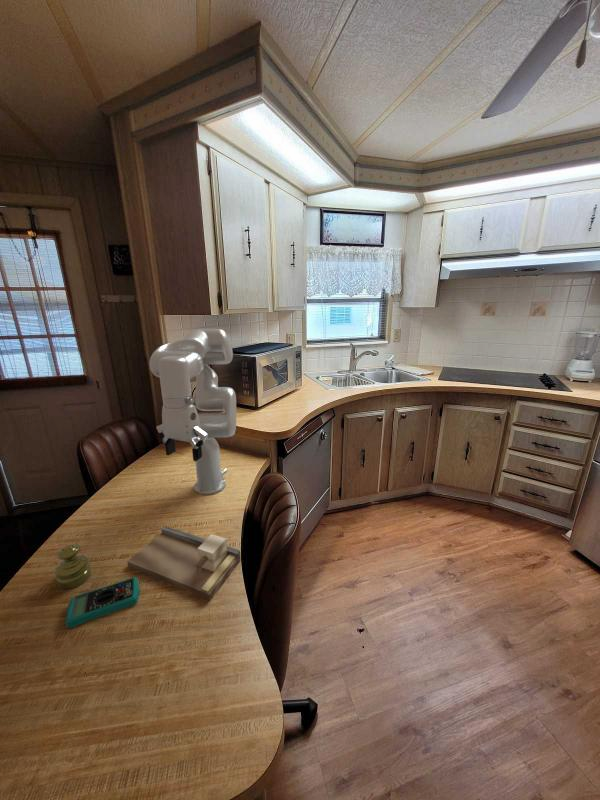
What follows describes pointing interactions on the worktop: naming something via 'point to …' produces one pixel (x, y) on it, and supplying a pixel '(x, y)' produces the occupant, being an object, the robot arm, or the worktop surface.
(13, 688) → the worktop surface
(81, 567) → the brass pawn finial
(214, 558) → the block with top hole
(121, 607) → the digital multimeter
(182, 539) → the board
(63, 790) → the worktop surface
